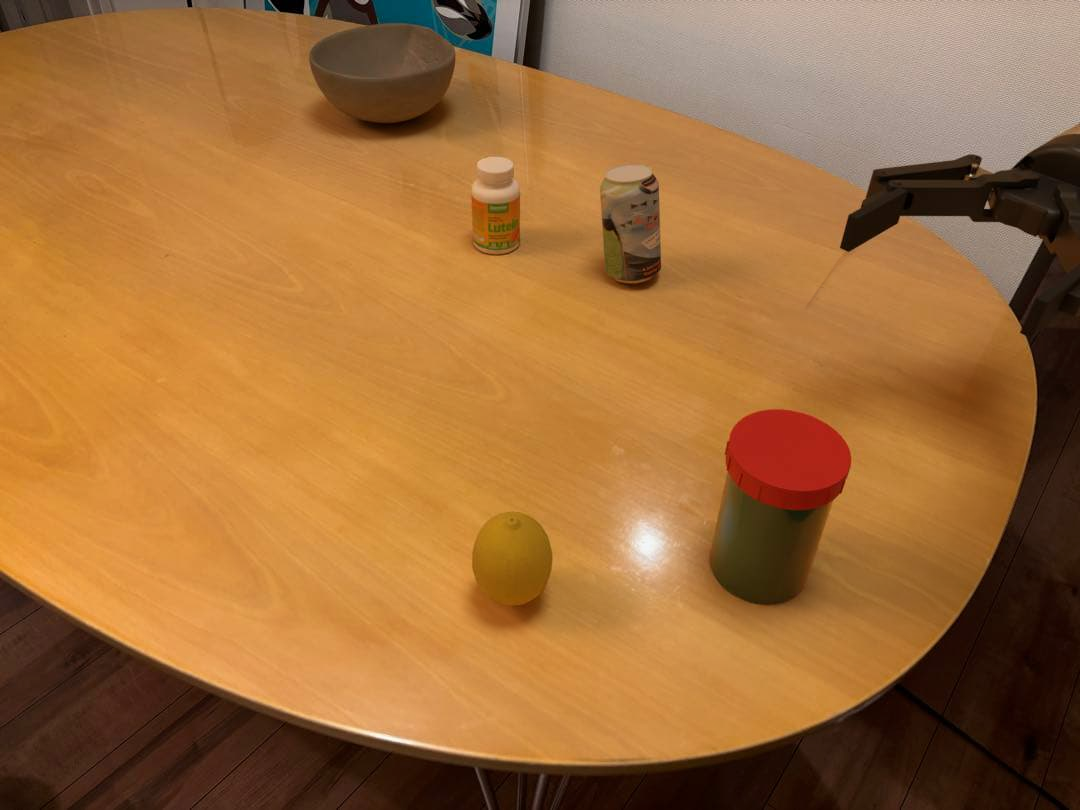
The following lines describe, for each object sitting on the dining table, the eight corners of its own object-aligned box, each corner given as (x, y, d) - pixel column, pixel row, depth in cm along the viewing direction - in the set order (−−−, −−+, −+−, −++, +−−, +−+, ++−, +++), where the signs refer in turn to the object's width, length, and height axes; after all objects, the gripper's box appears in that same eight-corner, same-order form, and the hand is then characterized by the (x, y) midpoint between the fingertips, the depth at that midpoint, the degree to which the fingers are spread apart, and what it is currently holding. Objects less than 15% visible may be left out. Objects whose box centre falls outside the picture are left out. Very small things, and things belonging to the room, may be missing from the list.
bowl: (289, 117, 128) (277, 47, 122) (393, 80, 140) (387, 13, 134) (383, 157, 118) (375, 83, 112) (487, 113, 130) (485, 43, 124)
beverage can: (644, 297, 93) (655, 193, 86) (583, 277, 96) (589, 174, 89) (669, 270, 98) (682, 169, 90) (610, 252, 100) (618, 152, 93)
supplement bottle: (486, 260, 99) (484, 179, 92) (464, 239, 102) (461, 159, 96) (528, 248, 101) (529, 168, 95) (505, 227, 104) (504, 149, 98)
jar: (814, 608, 63) (853, 496, 56) (712, 601, 63) (738, 488, 56) (799, 532, 68) (834, 421, 61) (706, 526, 69) (729, 414, 61)
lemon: (565, 587, 64) (569, 511, 59) (522, 641, 61) (523, 565, 55) (503, 554, 66) (501, 478, 61) (458, 604, 63) (452, 528, 58)
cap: (855, 514, 56) (862, 495, 55) (730, 506, 57) (734, 486, 55) (834, 432, 62) (840, 412, 61) (720, 424, 63) (724, 405, 61)
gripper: (1224, 286, 65) (1099, 408, 55) (921, 168, 80) (774, 247, 69) (1281, 193, 61) (1156, 308, 50) (947, 85, 75) (794, 157, 64)
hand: (934, 273), depth 59 cm, fingers open, 13 cm apart
